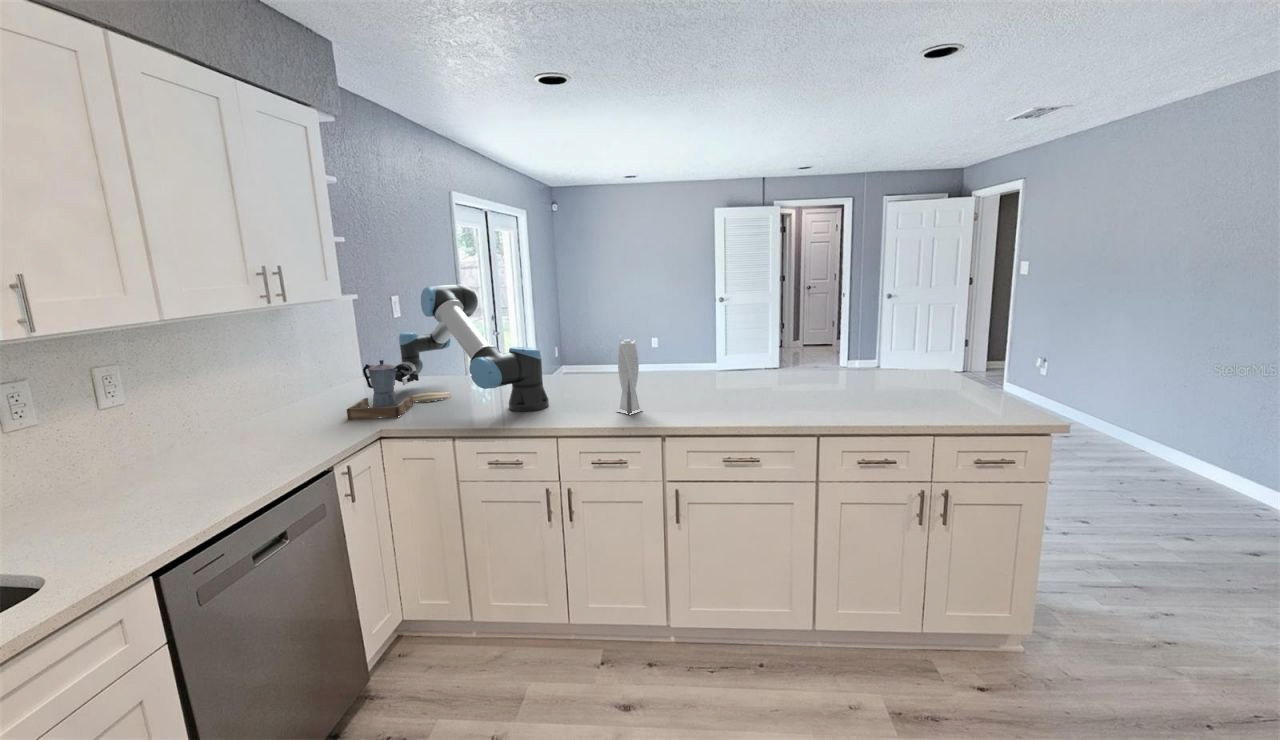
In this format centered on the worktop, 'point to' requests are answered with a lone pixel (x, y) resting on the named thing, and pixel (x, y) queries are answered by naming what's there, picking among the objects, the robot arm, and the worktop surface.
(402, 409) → the frame
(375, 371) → the moka pot
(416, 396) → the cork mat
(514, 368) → the robot arm
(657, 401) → the worktop surface
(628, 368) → the skyscraper
